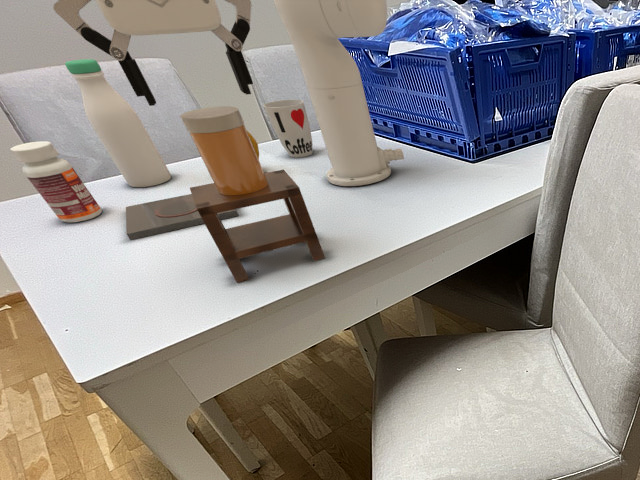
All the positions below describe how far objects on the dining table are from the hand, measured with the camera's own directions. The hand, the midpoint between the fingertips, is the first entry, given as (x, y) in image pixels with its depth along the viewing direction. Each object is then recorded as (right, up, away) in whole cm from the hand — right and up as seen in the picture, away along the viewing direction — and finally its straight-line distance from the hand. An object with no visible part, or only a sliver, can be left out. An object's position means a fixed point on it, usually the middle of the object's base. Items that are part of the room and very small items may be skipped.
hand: (201, 98), depth 51 cm
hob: (-24, -2, +27) cm, 36 cm away
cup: (-15, +22, +52) cm, 58 cm away
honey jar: (0, -7, +7) cm, 10 cm away
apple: (-22, +13, +43) cm, 50 cm away
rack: (0, -14, +14) cm, 20 cm away
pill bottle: (-42, -3, +27) cm, 50 cm away
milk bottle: (-40, +10, +40) cm, 58 cm away
